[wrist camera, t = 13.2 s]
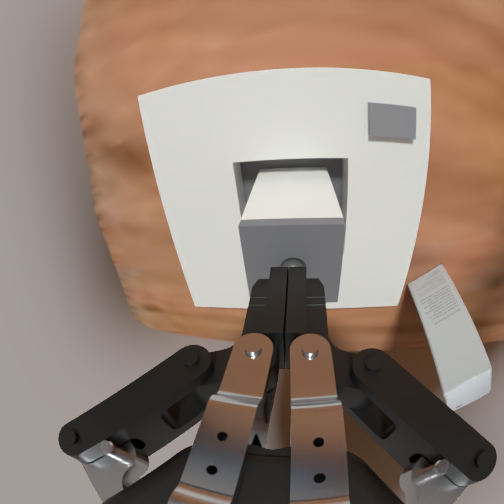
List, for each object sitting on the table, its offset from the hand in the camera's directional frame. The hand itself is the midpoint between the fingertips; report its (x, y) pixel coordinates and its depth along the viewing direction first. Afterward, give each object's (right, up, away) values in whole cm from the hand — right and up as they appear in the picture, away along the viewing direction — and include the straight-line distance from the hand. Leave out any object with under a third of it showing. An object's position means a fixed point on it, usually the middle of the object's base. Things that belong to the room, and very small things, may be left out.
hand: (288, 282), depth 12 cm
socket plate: (+1, +5, +8) cm, 10 cm away
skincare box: (+16, -2, +11) cm, 20 cm away
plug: (+1, +5, +7) cm, 9 cm away
